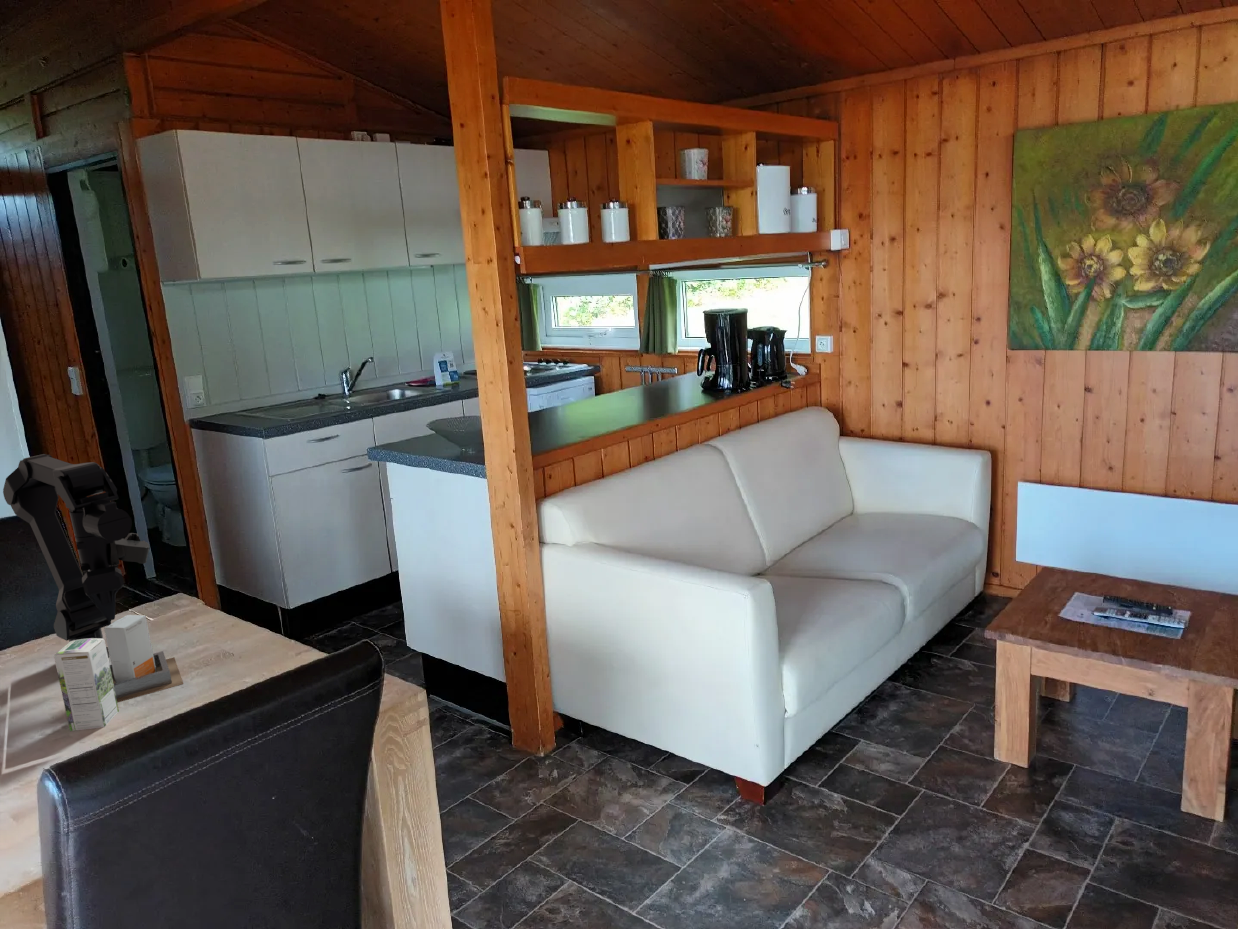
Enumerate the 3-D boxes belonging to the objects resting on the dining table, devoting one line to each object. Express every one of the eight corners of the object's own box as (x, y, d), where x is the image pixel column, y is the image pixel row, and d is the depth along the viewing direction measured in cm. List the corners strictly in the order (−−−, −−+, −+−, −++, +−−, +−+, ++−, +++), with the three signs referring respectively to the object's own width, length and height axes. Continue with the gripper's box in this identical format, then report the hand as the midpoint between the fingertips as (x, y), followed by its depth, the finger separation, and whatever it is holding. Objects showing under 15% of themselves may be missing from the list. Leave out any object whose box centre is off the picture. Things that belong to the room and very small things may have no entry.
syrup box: (86, 717, 159) (68, 639, 156) (121, 713, 160) (104, 636, 156) (70, 734, 154) (51, 654, 150) (106, 730, 154) (88, 650, 151)
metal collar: (104, 679, 172) (101, 667, 172) (165, 663, 177) (163, 651, 177) (107, 701, 163) (104, 688, 163) (172, 683, 169) (169, 670, 168)
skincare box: (135, 689, 167) (122, 628, 164) (115, 688, 168) (102, 627, 165) (158, 673, 173) (146, 614, 170) (139, 673, 174) (126, 614, 171)
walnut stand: (93, 681, 173) (93, 678, 173) (174, 660, 180) (174, 657, 180) (97, 711, 161) (97, 708, 161) (184, 686, 168) (183, 683, 168)
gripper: (146, 534, 164) (162, 616, 168) (136, 512, 179) (152, 587, 183) (74, 549, 158) (93, 633, 162) (71, 524, 174) (88, 601, 178)
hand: (109, 612), depth 171 cm, fingers open, 9 cm apart
